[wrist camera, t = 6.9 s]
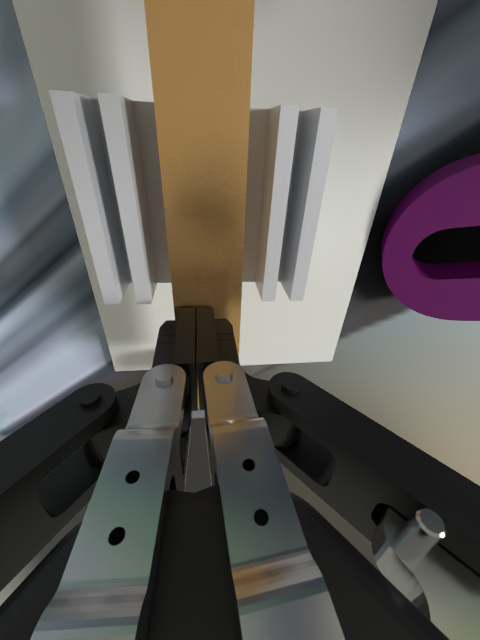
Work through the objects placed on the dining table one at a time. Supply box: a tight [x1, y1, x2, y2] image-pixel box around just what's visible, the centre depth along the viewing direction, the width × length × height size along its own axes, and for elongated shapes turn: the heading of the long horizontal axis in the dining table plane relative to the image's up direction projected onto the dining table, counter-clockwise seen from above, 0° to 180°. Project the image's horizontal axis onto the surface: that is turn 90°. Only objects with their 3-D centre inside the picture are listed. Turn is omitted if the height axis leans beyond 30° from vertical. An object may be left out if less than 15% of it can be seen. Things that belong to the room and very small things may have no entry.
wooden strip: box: [144, 0, 255, 408], centre depth 10 cm, size 19×3×1 cm, turn 178°
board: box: [12, 0, 438, 418], centre depth 12 cm, size 17×26×8 cm, turn 178°
